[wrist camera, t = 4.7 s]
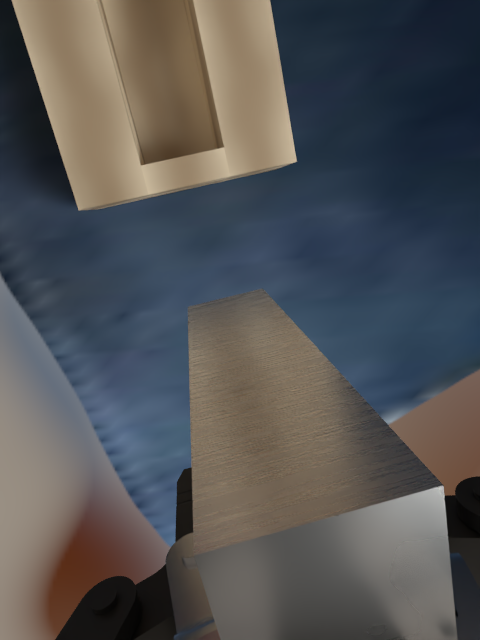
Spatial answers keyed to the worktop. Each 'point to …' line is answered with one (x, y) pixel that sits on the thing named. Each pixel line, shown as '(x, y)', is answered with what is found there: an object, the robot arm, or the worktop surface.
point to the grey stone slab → (305, 492)
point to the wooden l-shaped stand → (158, 93)
